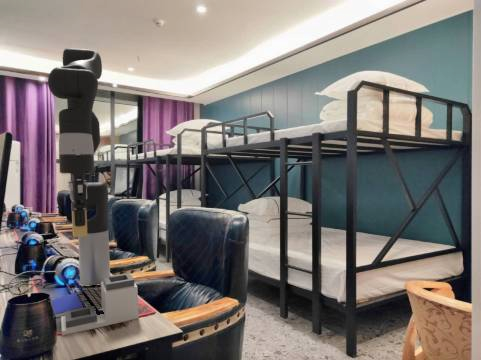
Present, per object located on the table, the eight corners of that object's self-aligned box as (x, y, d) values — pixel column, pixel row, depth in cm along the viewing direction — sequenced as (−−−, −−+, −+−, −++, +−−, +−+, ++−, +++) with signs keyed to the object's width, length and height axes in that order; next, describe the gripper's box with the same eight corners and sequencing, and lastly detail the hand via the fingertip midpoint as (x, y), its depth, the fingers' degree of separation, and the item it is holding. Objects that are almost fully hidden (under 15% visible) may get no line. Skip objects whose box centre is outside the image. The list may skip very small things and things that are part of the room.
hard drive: (46, 299, 97) (54, 313, 87) (77, 292, 102) (88, 305, 92) (46, 305, 97) (54, 320, 87) (77, 297, 102) (88, 310, 92)
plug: (72, 235, 83) (71, 202, 83) (86, 233, 85) (85, 201, 85) (73, 237, 81) (71, 203, 80) (87, 235, 82) (86, 202, 82)
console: (61, 320, 85) (59, 282, 85) (131, 305, 93) (130, 271, 93) (61, 335, 77) (60, 294, 77) (138, 318, 86) (137, 280, 85)
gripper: (58, 154, 86) (61, 222, 87) (59, 151, 74) (63, 231, 75) (90, 154, 90) (93, 220, 91) (97, 151, 78) (100, 227, 78)
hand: (79, 224), depth 83 cm, fingers closed on plug, 3 cm apart
